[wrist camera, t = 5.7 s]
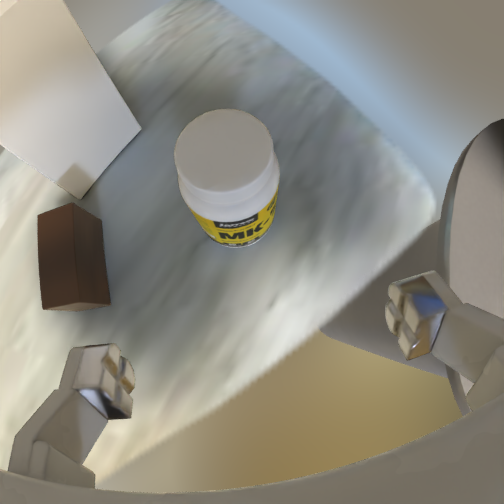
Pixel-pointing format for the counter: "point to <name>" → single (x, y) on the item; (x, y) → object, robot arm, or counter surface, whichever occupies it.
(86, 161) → the milk carton
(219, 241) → the supplement bottle
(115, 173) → the counter surface
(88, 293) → the brown wooden block
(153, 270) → the counter surface
